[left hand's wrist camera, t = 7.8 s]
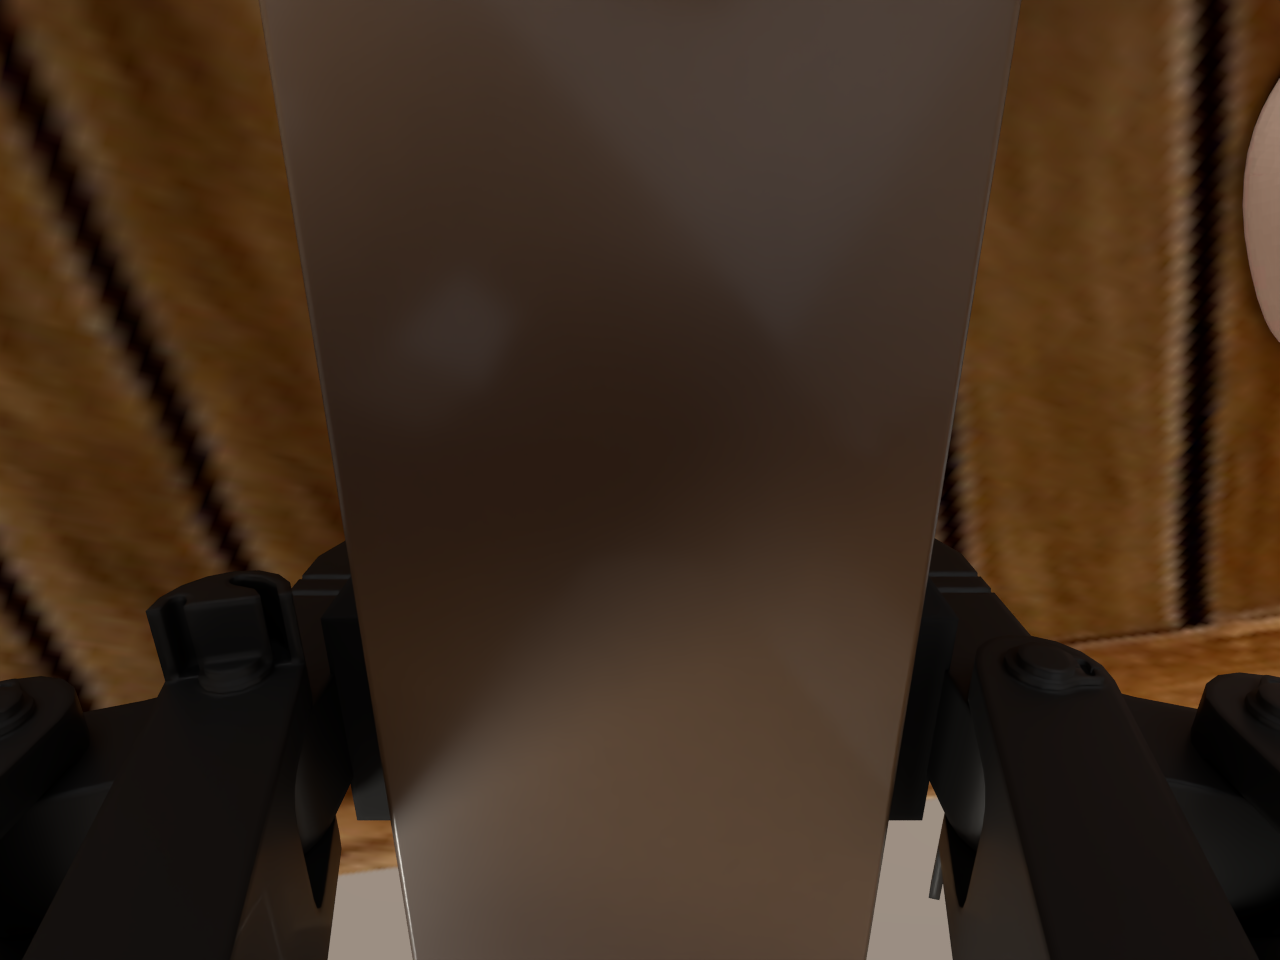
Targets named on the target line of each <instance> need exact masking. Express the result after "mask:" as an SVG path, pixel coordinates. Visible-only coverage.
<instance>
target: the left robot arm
mask: <svg viewBox="0 0 1280 960" xmlns="http://www.w3.org/2000/svg"><path fill="white" fill-rule="evenodd" d="M302 577H303V578H302V579H299V580H298V581H297V583H296V584H295V585H294V586H293V587H292V589H291V585H290V582H289V581H287V580H286V579H285V578H283V577H282V576H280V575H279V574H274V573H269V572H264V571H234V572H228V573H223V574H218V575H213V576H208V577H205V578H202V579H199V580H196V581H193V582H190V583H187V584H185V585H182V586H180V587H178V588H176V589H174V590H173V591H171V592H169V593H167V594H165V595H164V596H162V597H160V598H159V599H158V600H157V601H156V602H155V603H154V604H153V605H152V606H151V607H150V608H149V609H148V610H147V611H146V614H147V618H148V621H149V625H150V628H151V632H152V635H153V639H154V642H155V646H156V650H157V653H158V657H159V660H160V664H161V667H162V671H163V674H164V678H165V683H164V685H163V687H162V689H161V691H160V693H159V695H158V697H157V698H153V699H149V700H145V701H140V702H135V703H129V704H124V705H119V706H114V707H109V708H103V709H98V710H93V711H88V712H82V709H81V706H80V703H79V700H78V697H77V694H76V691H75V688H74V687H73V686H72V685H70V684H69V683H67V682H66V681H65V680H63V679H59V678H51V677H43V676H39V677H30V678H21V679H9V680H5V681H0V960H327V959H328V951H329V943H330V935H331V927H332V919H333V911H334V904H335V896H336V888H337V880H338V872H339V864H340V856H341V842H340V835H339V829H338V824H337V819H336V813H337V811H338V809H339V807H340V804H341V802H342V800H343V798H344V796H345V794H346V792H347V790H348V788H349V786H350V783H351V788H352V794H353V799H354V805H355V810H356V816H357V820H390V814H389V807H388V801H387V795H386V789H385V782H384V776H383V770H382V764H381V758H380V751H379V745H378V739H377V733H376V727H375V720H374V714H373V708H372V702H371V695H370V689H369V683H368V677H367V671H366V664H365V658H364V652H363V646H362V639H361V633H360V627H359V621H358V615H357V608H356V602H355V596H354V590H353V584H352V577H351V571H350V565H349V559H348V552H347V546H346V541H344V542H342V543H341V544H339V545H337V546H335V547H334V548H332V549H330V550H329V551H327V552H325V553H324V554H322V555H320V556H319V557H318V558H317V559H316V560H315V561H314V562H313V564H312V565H311V566H310V567H309V568H308V570H307V571H306V572H305V573H304V574H303V575H302ZM929 781H930V783H931V785H932V787H933V789H934V791H935V793H936V795H937V797H938V800H939V802H940V804H941V806H942V808H943V810H944V812H945V814H944V819H943V824H942V829H941V834H940V839H939V845H938V849H937V855H936V860H935V865H934V870H933V875H932V880H931V886H930V893H929V898H932V899H937V900H939V899H940V894H941V889H942V884H943V886H944V894H945V902H946V910H947V918H948V925H949V933H950V941H951V949H952V957H953V960H1280V677H1275V676H1270V675H1257V674H1248V673H1232V674H1224V675H1218V676H1216V677H1215V678H1214V679H1212V680H1211V681H1209V682H1208V683H1207V684H1206V686H1205V689H1204V692H1203V695H1202V698H1201V701H1200V704H1199V707H1198V709H1195V708H1190V707H1184V706H1179V705H1174V704H1169V703H1163V702H1158V701H1153V700H1148V699H1142V698H1137V697H1133V696H1129V695H1125V694H1121V692H1120V690H1119V688H1118V686H1117V684H1116V682H1115V680H1114V679H1113V678H1112V677H1111V675H1110V674H1109V673H1108V672H1107V671H1106V670H1105V668H1104V667H1103V666H1102V665H1101V664H1099V663H1098V662H1096V661H1095V660H1093V659H1092V658H1090V657H1089V656H1087V655H1085V654H1084V653H1082V652H1081V651H1078V650H1076V649H1073V648H1071V647H1068V646H1066V645H1064V644H1061V643H1059V642H1056V641H1052V640H1047V639H1043V638H1038V637H1034V636H1031V635H1030V634H1029V633H1028V632H1027V631H1026V629H1025V628H1024V627H1023V626H1022V625H1021V624H1020V622H1019V621H1018V620H1017V619H1016V618H1015V617H1014V615H1013V614H1012V613H1011V612H1010V611H1009V609H1008V608H1007V607H1006V606H1005V605H1004V604H1003V602H1002V601H1001V600H1000V599H999V598H998V596H997V595H996V594H995V593H991V588H990V587H989V586H988V585H987V584H986V582H985V581H984V580H983V579H982V578H981V577H978V576H977V572H976V571H975V569H974V568H973V567H972V566H971V565H970V563H969V562H968V561H967V560H966V559H965V558H964V556H963V555H962V554H961V553H959V552H957V551H956V550H954V549H952V548H950V547H949V546H947V545H945V544H944V543H942V542H940V541H938V540H937V539H935V538H934V543H933V549H932V556H931V562H930V568H929V574H928V580H927V586H926V593H925V599H924V605H923V611H922V617H921V624H920V630H919V636H918V642H917V648H916V654H915V661H914V667H913V673H912V679H911V685H910V692H909V698H908V704H907V710H906V716H905V722H904V729H903V735H902V741H901V747H900V753H899V760H898V766H897V772H896V778H895V784H894V790H893V797H892V803H891V809H890V815H889V820H922V818H923V812H924V807H925V802H926V796H927V791H928V785H929Z"/></svg>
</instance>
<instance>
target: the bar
mask: <svg viewBox="0 0 1280 960" xmlns="http://www.w3.org/2000/svg"><path fill="white" fill-rule="evenodd" d="M259 5H260V12H261V18H262V24H263V30H264V36H265V43H266V49H267V55H268V61H269V67H270V74H271V80H272V86H273V92H274V99H275V105H276V111H277V117H278V123H279V130H280V136H281V142H282V148H283V155H284V161H285V167H286V173H287V179H288V186H289V192H290V198H291V204H292V210H293V217H294V223H295V229H296V235H297V242H298V248H299V254H300V260H301V266H302V273H303V279H304V285H305V291H306V298H307V304H308V310H309V316H310V322H311V329H312V335H313V341H314V347H315V353H316V360H317V366H318V372H319V378H320V385H321V391H322V397H323V403H324V409H325V416H326V422H327V428H328V434H329V441H330V447H331V453H332V459H333V465H334V472H335V478H336V484H337V490H338V496H339V503H340V509H341V515H342V521H343V528H344V534H345V540H346V546H347V552H348V559H349V565H350V571H351V577H352V584H353V590H354V596H355V602H356V608H357V615H358V621H359V627H360V633H361V639H362V646H363V652H364V658H365V664H366V671H367V677H368V683H369V689H370V695H371V702H372V708H373V714H374V720H375V727H376V733H377V739H378V745H379V751H380V758H381V764H382V770H383V776H384V782H385V789H386V795H387V801H388V807H389V814H390V820H391V826H392V832H393V838H394V845H395V851H396V857H397V863H398V870H399V876H400V882H401V888H402V894H403V900H404V906H405V913H406V919H407V925H408V932H409V938H410V944H411V950H412V957H413V960H866V957H867V951H868V945H869V939H870V933H871V926H872V920H873V914H874V908H875V902H876V895H877V889H878V883H879V877H880V871H881V865H882V858H883V852H884V846H885V840H886V834H887V828H888V821H889V815H890V809H891V803H892V797H893V790H894V784H895V778H896V772H897V766H898V760H899V753H900V747H901V741H902V735H903V729H904V722H905V716H906V710H907V704H908V698H909V692H910V685H911V679H912V673H913V667H914V661H915V654H916V648H917V642H918V636H919V630H920V624H921V617H922V611H923V605H924V599H925V593H926V586H927V580H928V574H929V568H930V562H931V556H932V549H933V543H934V537H935V531H936V525H937V518H938V512H939V506H940V500H941V494H942V488H943V481H944V475H945V469H946V463H947V457H948V450H949V444H950V438H951V432H952V426H953V420H954V413H955V407H956V401H957V395H958V389H959V382H960V376H961V370H962V364H963V358H964V352H965V345H966V339H967V333H968V327H969V321H970V314H971V308H972V302H973V296H974V290H975V284H976V277H977V271H978V265H979V259H980V253H981V246H982V240H983V234H984V228H985V222H986V216H987V209H988V203H989V197H990V191H991V185H992V178H993V172H994V166H995V160H996V154H997V148H998V141H999V135H1000V129H1001V123H1002V117H1003V110H1004V104H1005V98H1006V92H1007V86H1008V80H1009V73H1010V67H1011V61H1012V55H1013V49H1014V42H1015V36H1016V30H1017V24H1018V18H1019V12H1020V5H1021V0H259Z"/></svg>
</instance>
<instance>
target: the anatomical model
mask: <svg viewBox="0 0 1280 960" xmlns="http://www.w3.org/2000/svg"><path fill="white" fill-rule="evenodd" d="M1243 219H1244V235H1245V241H1246V247H1247V254H1248V260H1249V266H1250V270H1251V275H1252V279H1253V283H1254V287H1255V291H1256V295H1257V299H1258V302H1259V304H1260V307H1261V310H1262V313H1263V316H1264V318H1265V321H1266V323H1267V325H1268V327H1269V329H1270V330H1271V332H1272V333H1273V335H1274V336H1275V337H1276V339H1277V340H1278V341H1279V342H1280V79H1279V80H1278V82H1277V83H1276V85H1275V87H1274V88H1273V90H1272V91H1271V93H1270V95H1269V97H1268V99H1267V101H1266V103H1265V105H1264V106H1263V108H1262V111H1261V113H1260V115H1259V118H1258V120H1257V123H1256V125H1255V127H1254V131H1253V135H1252V138H1251V142H1250V145H1249V149H1248V153H1247V159H1246V166H1245V173H1244V188H1243Z"/></svg>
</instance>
